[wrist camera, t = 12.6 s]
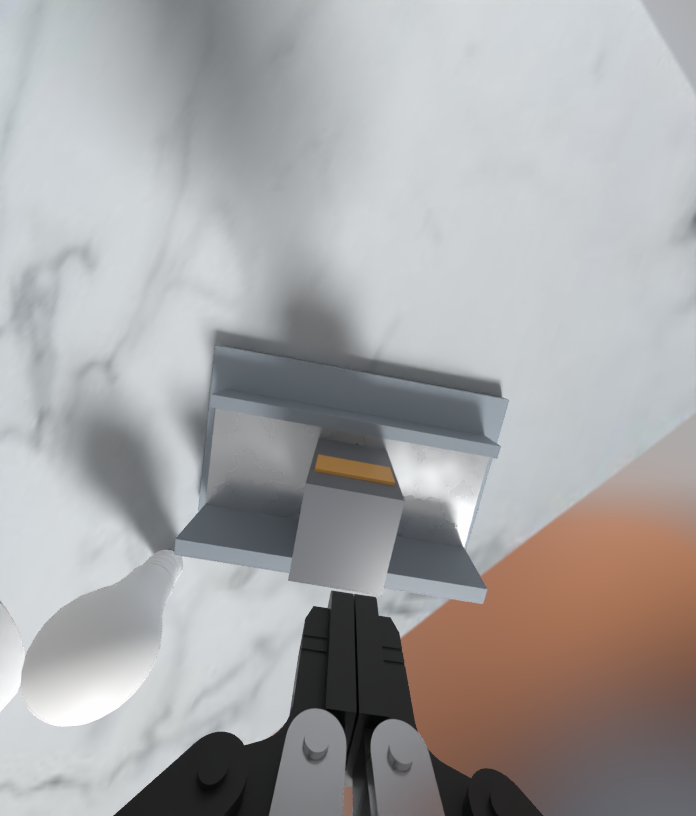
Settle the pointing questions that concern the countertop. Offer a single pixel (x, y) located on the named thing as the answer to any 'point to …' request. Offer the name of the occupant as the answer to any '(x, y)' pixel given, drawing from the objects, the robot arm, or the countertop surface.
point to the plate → (291, 459)
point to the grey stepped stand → (352, 412)
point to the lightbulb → (99, 646)
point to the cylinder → (9, 657)
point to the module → (347, 519)
